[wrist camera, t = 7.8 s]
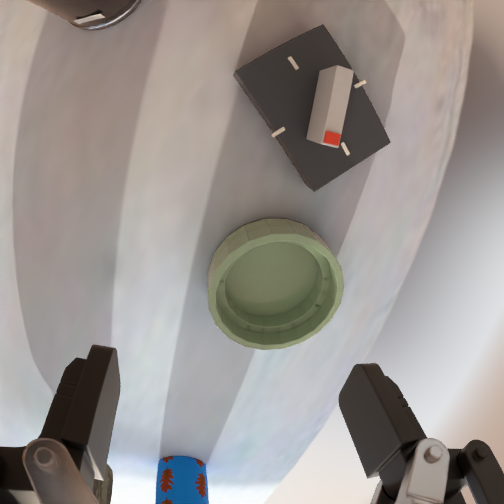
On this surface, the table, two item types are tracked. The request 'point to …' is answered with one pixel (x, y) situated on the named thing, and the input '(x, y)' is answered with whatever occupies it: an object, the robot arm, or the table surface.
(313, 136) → the red tipped lever
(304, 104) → the rotary switch dial
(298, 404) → the table surface
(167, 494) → the thermos
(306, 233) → the basin
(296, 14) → the table surface
